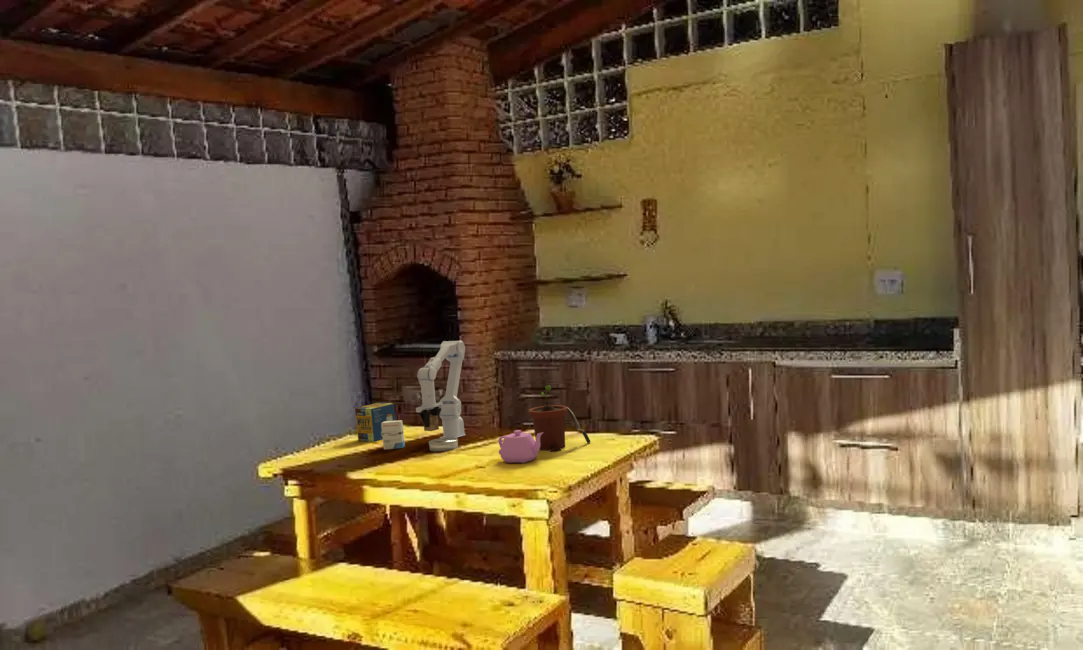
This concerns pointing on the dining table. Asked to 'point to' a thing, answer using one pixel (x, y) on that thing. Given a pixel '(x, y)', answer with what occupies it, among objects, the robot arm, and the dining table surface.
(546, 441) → the potted plant
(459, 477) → the dining table surface
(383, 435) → the ink box
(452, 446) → the biscuit tin
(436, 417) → the walnut block
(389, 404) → the protein box
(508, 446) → the teapot
